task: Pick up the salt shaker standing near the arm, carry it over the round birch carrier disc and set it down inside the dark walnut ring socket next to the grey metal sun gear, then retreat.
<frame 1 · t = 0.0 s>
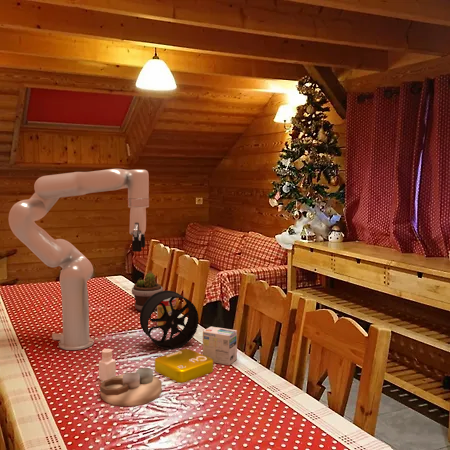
hand: (138, 249, 185), 37 cm above the table, tool pointing down, fingers open, 9 cm apart
car wheel rim: (169, 345, 189), on the table
carrier: (131, 391, 149), on the table
element tile: (184, 372, 166), on the table
canned food: (166, 326, 212), on the table
salt shaker: (107, 379, 158), on the table
light bulb box: (219, 360, 175), on the table
flowerpot: (147, 309, 236), on the table
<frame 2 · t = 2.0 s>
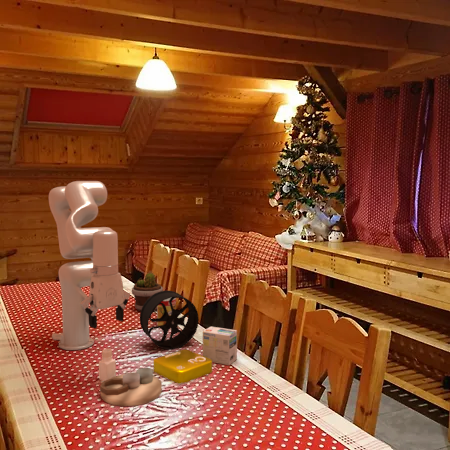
hand: (106, 323, 156), 18 cm above the table, tool pointing down, fingers open, 9 cm apart
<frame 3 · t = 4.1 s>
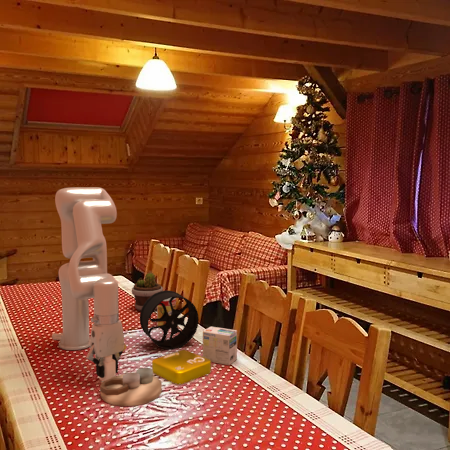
hand: (107, 373, 158), 2 cm above the table, tool pointing down, fingers closed on salt shaker, 4 cm apart
salt shaker: (107, 379, 158), on the table, touching gripper
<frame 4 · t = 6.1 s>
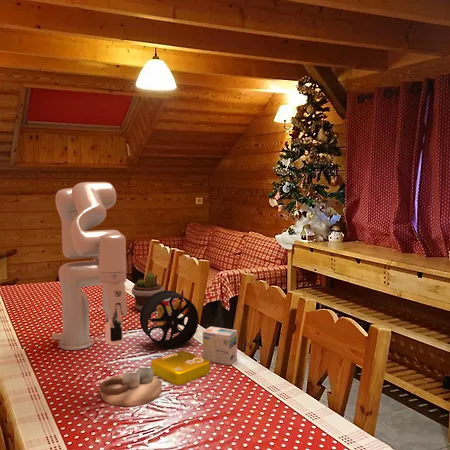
hand: (113, 337, 145), 18 cm above the table, tool pointing down, fingers closed on salt shaker, 4 cm apart
salt shaker: (114, 343, 146), point 16 cm above the table, touching gripper
when the fingers open (5 cm above the table, at t = 8.1 s): salt shaker stays where it is, resting on carrier.
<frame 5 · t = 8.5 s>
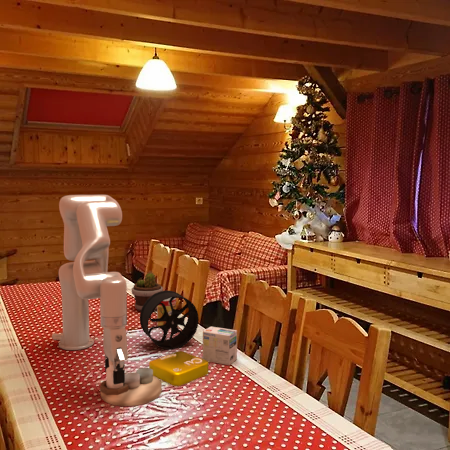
hand: (114, 377, 146), 6 cm above the table, tool pointing down, fingers open, 8 cm apart
salt shaker: (114, 389, 147), point 2 cm above the table, touching carrier
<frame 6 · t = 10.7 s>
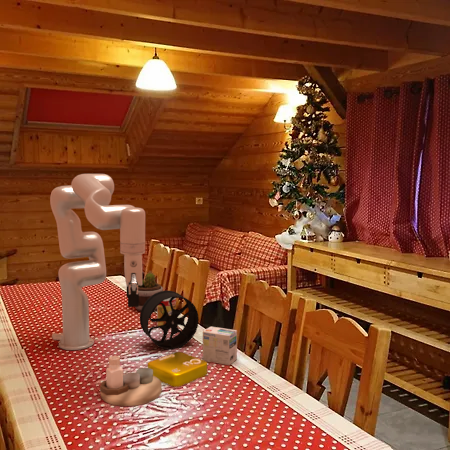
hand: (132, 302, 155), 25 cm above the table, tool pointing down, fingers open, 9 cm apart
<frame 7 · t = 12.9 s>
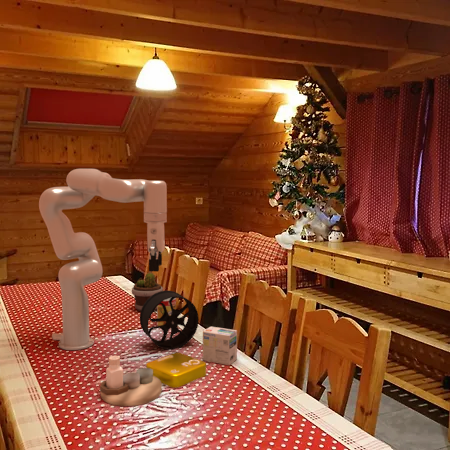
hand: (155, 268, 168), 33 cm above the table, tool pointing down, fingers open, 9 cm apart
at the end: salt shaker 0.2 cm from the target spot on the carrier, point 1.8 cm above the carrier's base; salt shaker tilted 0°; the gripper is holding nothing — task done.
